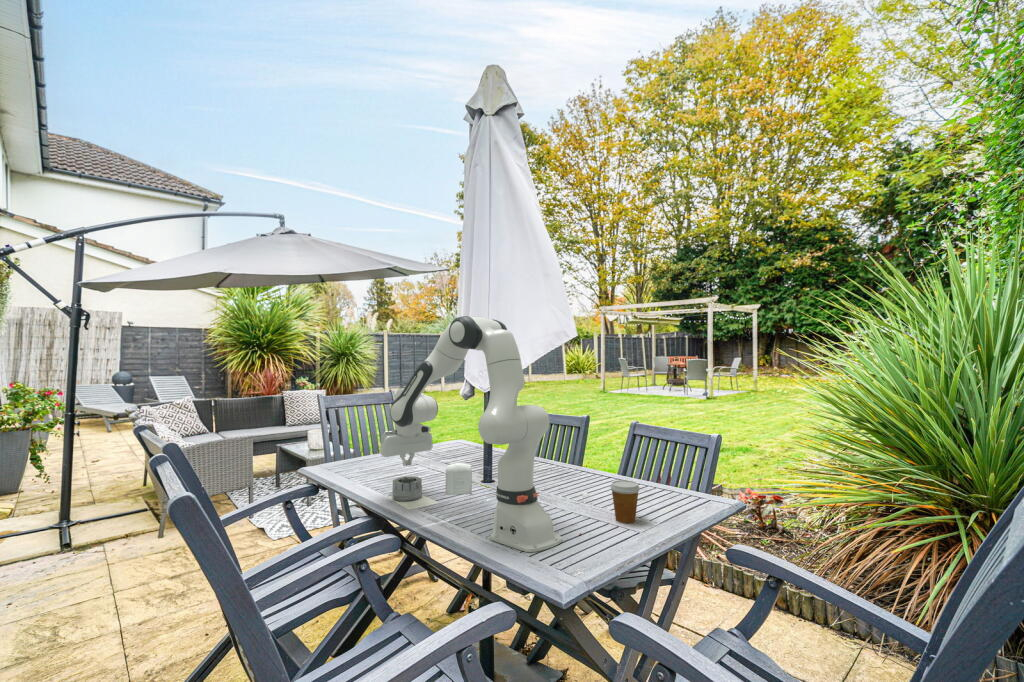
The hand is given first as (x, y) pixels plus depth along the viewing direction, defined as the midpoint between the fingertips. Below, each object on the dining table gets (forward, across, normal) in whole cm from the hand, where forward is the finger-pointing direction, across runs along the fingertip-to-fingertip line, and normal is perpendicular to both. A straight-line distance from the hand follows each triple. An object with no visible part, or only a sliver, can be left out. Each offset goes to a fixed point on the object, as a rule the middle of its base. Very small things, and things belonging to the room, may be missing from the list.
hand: (407, 465), depth 184 cm
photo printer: (+13, +18, -7) cm, 24 cm away
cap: (+8, 0, 0) cm, 8 cm away
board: (+13, 0, -4) cm, 14 cm away
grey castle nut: (+12, 0, 0) cm, 12 cm away
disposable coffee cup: (+13, +46, -66) cm, 82 cm away
